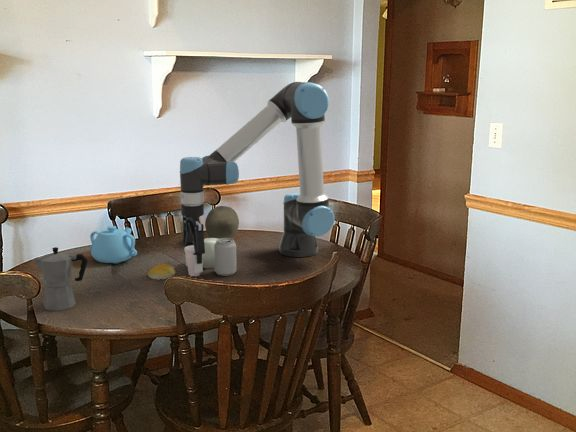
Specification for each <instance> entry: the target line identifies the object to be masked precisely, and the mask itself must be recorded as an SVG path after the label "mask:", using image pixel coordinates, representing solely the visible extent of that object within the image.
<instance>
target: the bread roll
mask: <svg viewBox="0 0 576 432" xmlns="http://www.w3.org/2000/svg"><path fill="white" fill-rule="evenodd" d="M175 274H176V270H175V268H174V267H173V266H172V265H170V264H168V263H159V264H157V265H156V266H154V267H152V268H150V269H149V270H148V272H147V276H148V277H149V278H150V279H152V280H155V279H156V281H157V280H160V279H162V280H167V278H168V279H170V278H172V277H173V276H175ZM171 276H172V277H171ZM169 277H170V278H169Z"/></svg>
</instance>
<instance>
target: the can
mask: <svg viewBox="0 0 576 432" xmlns="http://www.w3.org/2000/svg"><path fill="white" fill-rule="evenodd" d="M214 257H215V268H214V272H215V273H216V275H219V276H224V277H226V276H227V277H229V276H233V275H234V274H235V273H236V272H237V244H236V242H235V239H233V238H220V239H217V240H216V243H215V244H214Z"/></svg>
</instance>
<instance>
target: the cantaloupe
mask: <svg viewBox="0 0 576 432" xmlns="http://www.w3.org/2000/svg"><path fill="white" fill-rule="evenodd" d="M239 226H240V220H239V216H238V212H236V210H235V209H234V208H232V207H231V206H227V205H219V206H215V207H214V208H212V209H211V210H210V211H209V212H208V213H207V215H206V218H205V222H204V229H205V230H206V233H207V235H208V238H218V239H220V238H231V239H233V238H234V237H235V236H236V235H237V233H238V230H239Z"/></svg>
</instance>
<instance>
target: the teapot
mask: <svg viewBox="0 0 576 432" xmlns="http://www.w3.org/2000/svg"><path fill="white" fill-rule="evenodd" d="M95 234H96V237H95ZM89 236H90V241H91V245H90V246H89V250H90V251H91V254H90V255H91V257H93V259H94V260H95V261H97V262H99V263H102V264H103V263H104V264H114V265H118V264H120V263H122V262H126V261H129V260H130V259H132V257H136V256H137V255H138V251H137V250H136V249H135V245H136V238H135V236H134V235H132V228H130V227H125V228H124V229H122V228H117V226H116V225H109V226H107V229H104V230H101V231H98V230H95V231H92V232H91V233H90V235H89Z"/></svg>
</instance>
